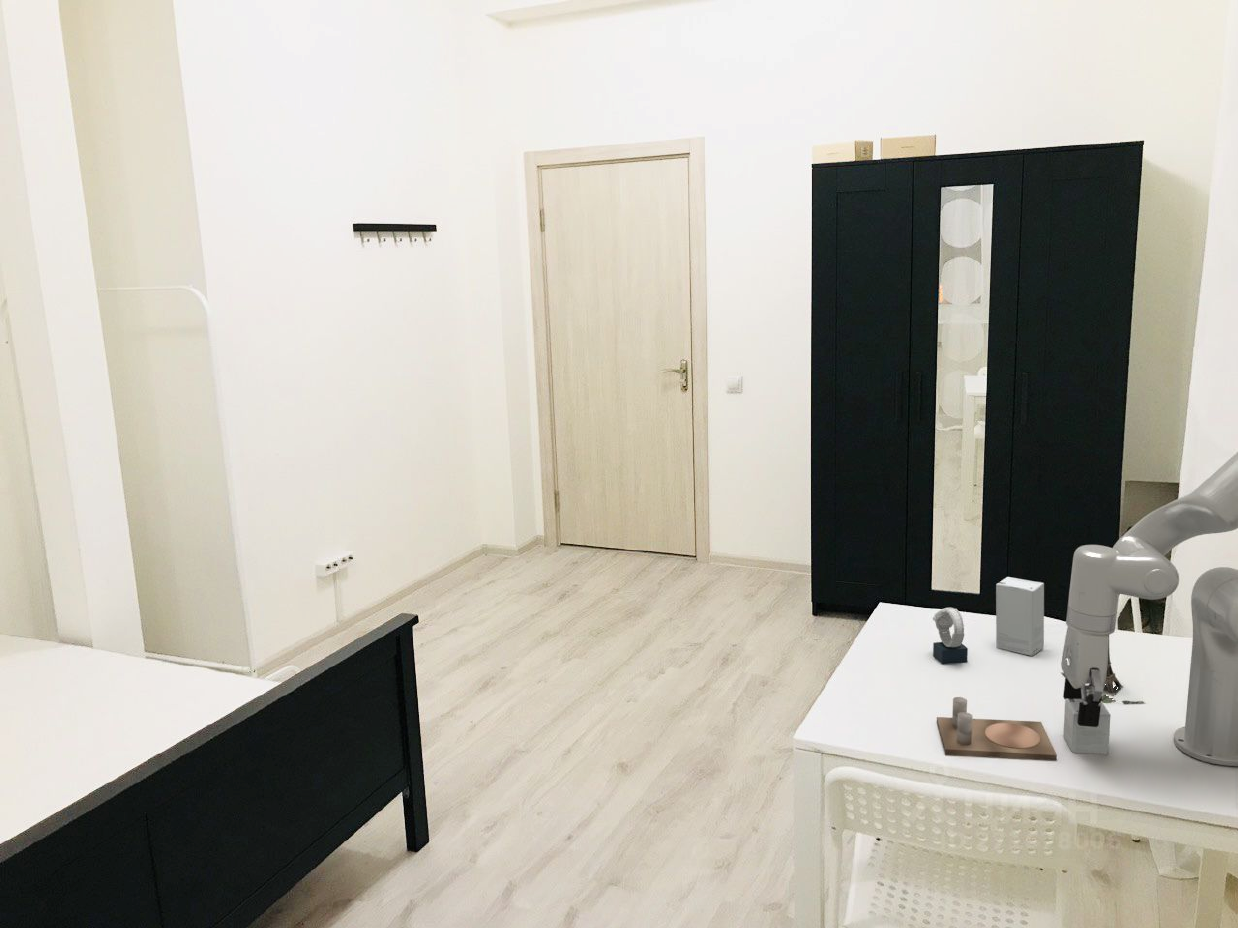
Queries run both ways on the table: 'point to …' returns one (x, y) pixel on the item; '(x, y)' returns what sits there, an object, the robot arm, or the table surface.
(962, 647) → the watch
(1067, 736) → the skincare box
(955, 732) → the board
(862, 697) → the table surface
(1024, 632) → the skincare box
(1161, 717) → the table surface
